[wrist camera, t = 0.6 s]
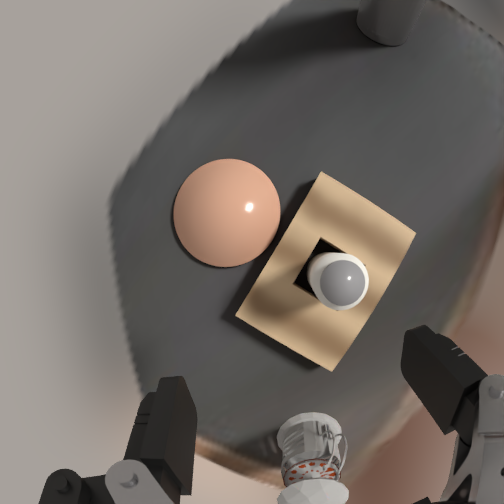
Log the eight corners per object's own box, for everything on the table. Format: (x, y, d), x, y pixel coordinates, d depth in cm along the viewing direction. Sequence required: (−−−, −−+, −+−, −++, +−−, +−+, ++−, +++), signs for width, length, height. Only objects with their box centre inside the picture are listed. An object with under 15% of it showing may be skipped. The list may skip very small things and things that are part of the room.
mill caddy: (318, 177, 37) (321, 171, 34) (407, 234, 35) (416, 233, 33) (239, 310, 38) (235, 315, 35) (329, 362, 37) (331, 371, 34)
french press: (265, 448, 38) (240, 580, 13) (301, 393, 37) (306, 537, 13) (320, 466, 37) (329, 591, 12) (360, 414, 36) (407, 544, 12)
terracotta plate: (209, 144, 39) (208, 142, 38) (300, 192, 37) (300, 191, 36) (158, 232, 40) (155, 231, 39) (244, 287, 38) (243, 287, 37)
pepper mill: (319, 244, 37) (334, 242, 25) (353, 265, 36) (381, 272, 25) (298, 279, 37) (302, 293, 25) (332, 300, 37) (351, 322, 25)
